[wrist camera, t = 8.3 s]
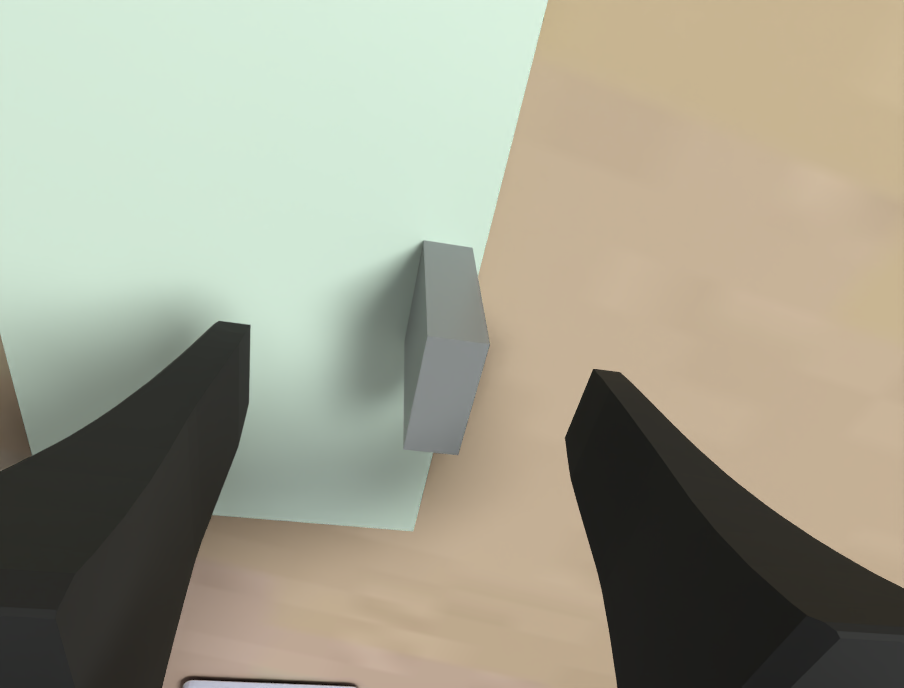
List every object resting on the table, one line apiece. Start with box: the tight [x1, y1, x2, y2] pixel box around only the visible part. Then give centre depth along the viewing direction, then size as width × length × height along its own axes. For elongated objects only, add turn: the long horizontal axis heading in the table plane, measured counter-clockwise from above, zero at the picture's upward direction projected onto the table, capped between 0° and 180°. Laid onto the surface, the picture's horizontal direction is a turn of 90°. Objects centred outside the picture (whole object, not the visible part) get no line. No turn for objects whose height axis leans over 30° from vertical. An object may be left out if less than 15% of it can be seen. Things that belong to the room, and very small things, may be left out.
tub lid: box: [0, 0, 548, 531], centre depth 14 cm, size 19×12×5 cm, turn 168°
